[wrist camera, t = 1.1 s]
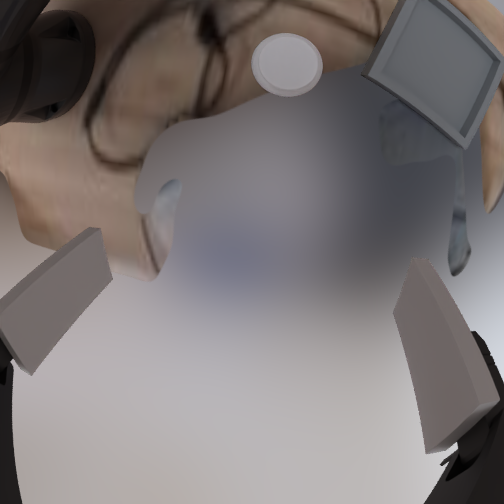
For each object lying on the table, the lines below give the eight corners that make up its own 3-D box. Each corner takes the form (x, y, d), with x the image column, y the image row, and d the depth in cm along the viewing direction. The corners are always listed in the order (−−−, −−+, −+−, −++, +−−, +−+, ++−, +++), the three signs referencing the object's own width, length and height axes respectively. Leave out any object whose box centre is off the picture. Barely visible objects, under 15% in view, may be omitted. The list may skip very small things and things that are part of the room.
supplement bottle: (313, 92, 24) (332, 100, 16) (259, 94, 25) (251, 103, 17) (310, 42, 21) (326, 26, 13) (254, 44, 22) (243, 29, 14)
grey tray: (360, 74, 22) (367, 75, 20) (407, -17, 14) (417, -22, 12) (454, 143, 25) (466, 150, 23) (495, 60, 17) (507, 61, 15)
